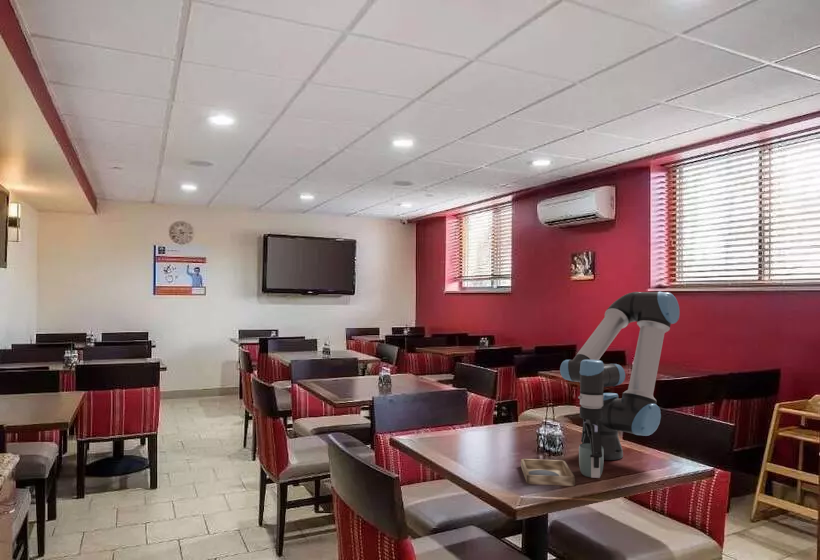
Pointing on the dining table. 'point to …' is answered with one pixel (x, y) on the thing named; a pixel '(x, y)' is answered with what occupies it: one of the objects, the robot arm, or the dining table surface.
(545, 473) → the pad
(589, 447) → the cup
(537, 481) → the wooden tray
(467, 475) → the dining table surface
